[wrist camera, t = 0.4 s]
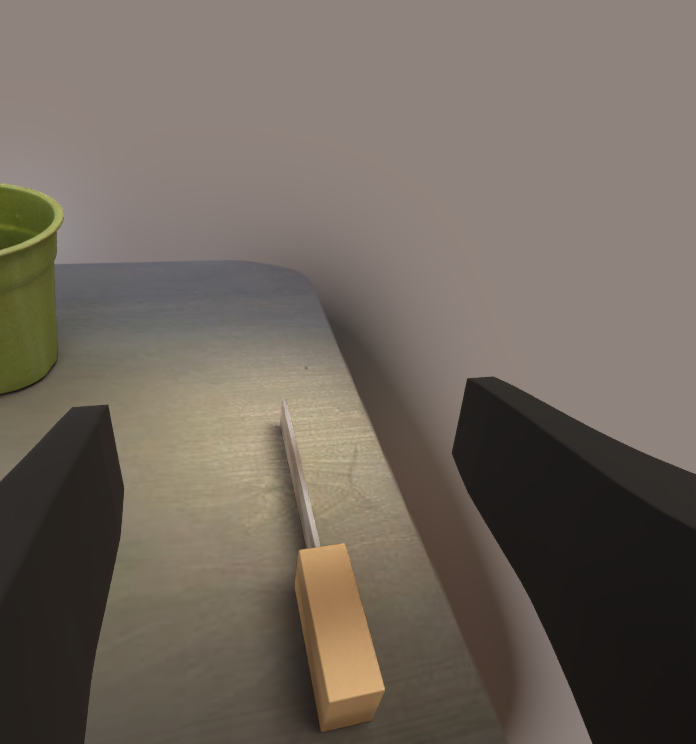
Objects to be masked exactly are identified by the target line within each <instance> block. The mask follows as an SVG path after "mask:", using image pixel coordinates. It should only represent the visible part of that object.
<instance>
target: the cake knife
mask: <svg viewBox="0 0 696 744" xmlns="http://www.w3.org/2000/svg"><path fill="white" fill-rule="evenodd" d="M280 425H281V430H282V435H283V439H284V444H285V449H286V454H287V458H288V463H289V468H290V473H291V477H292V482H293V487H294V492H295V496H296V501H297V506H298V511H299V515H300V520H301V525H302V530H303V534H304V539H305V544H306V549H302V550H299V553H298V562H297V570H296V578H295V592H296V597H297V603H298V608H299V614H300V619H301V625H302V630H303V636H304V641H305V647H306V652H307V658H308V663H309V669H310V674H311V680H312V685H313V691H314V696H315V702H316V707H317V713H318V718H319V724H320V729H321V732H326V731H330V730H334V729H338V728H342V727H347V726H351V725H355V724H359V723H363V722H367V721H372V720H373V718H374V715H375V713H376V710H377V708H378V706H379V703H380V701H381V698H382V696H383V694H384V691H385V687H384V683H383V680H382V676H381V672H380V669H379V665H378V661H377V658H376V654H375V650H374V647H373V643H372V639H371V636H370V632H369V628H368V625H367V621H366V618H365V614H364V610H363V607H362V603H361V599H360V596H359V592H358V588H357V585H356V581H355V577H354V574H353V570H352V566H351V563H350V559H349V555H348V552H347V548H346V545H345V543H343V544H336V545H329V546H322V547H321V546H320V541H319V537H318V533H317V528H316V524H315V520H314V516H313V511H312V507H311V503H310V498H309V494H308V490H307V486H306V481H305V477H304V473H303V468H302V464H301V460H300V456H299V451H298V447H297V443H296V439H295V434H294V430H293V426H292V421H291V417H290V413H289V409H288V404H287V400H282V409H281V424H280Z"/></svg>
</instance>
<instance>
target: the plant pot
mask: <svg viewBox="0 0 696 744" xmlns="http://www.w3.org/2000/svg"><path fill="white" fill-rule="evenodd" d="M63 219H64V212H63V209H62V207H61V205H59V203H58V202H57V201H56V200H55V199H53V198H52V197H50V196H47V195H45V194H43V193H41V192H38V191H36V190H32V189H29V188H25V187H20V186H15V185H9V184H2V183H0V394H1V393H6V392H11V391H14V390H18V389H21V388H24V387H26V386H28V385H31V384H33V383H35V382H36V381H38V380H40V379H41V378H43V377H44V376H45V375H46V374H47V373H48V371H49V370H50V368H51V367H52V365H53V364H54V363H55V362H56V361H57V358H58V345H57V323H56V300H55V275H54V260H55V258H56V254H57V230H58V229H59V227H60V226H61V224H62V222H63Z"/></svg>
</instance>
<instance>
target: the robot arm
mask: <svg viewBox="0 0 696 744" xmlns="http://www.w3.org/2000/svg"><path fill="white" fill-rule="evenodd" d="M452 455H453V458H454V460H455V463H456V465H457V468H458V470H459V473H460V475H461V478H462V480H463V482H464V485H465V487H466V489H467V491H468V493H469V495H470V497H471V499H472V500H473V502H474V504H475V506H476V507H477V509H478V511H479V512H480V514H481V516H482V518H483V519H484V521H485V523H486V524H487V526H488V528H489V529H490V531H491V533H492V534H493V536H494V538H495V539H496V541H497V543H498V544H499V546H500V548H501V549H502V551H503V553H504V554H505V556H506V558H507V559H508V561H509V563H510V564H511V566H512V568H513V569H514V571H515V573H516V574H517V576H518V578H519V579H520V581H521V583H522V585H523V587H524V588H525V590H526V592H527V594H528V596H529V598H530V600H531V602H532V604H533V606H534V608H535V610H536V612H537V614H538V617H539V619H540V621H541V623H542V625H543V627H544V629H545V631H546V634H547V636H548V638H549V640H550V642H551V644H552V647H553V649H554V651H555V654H556V656H557V658H558V660H559V663H560V665H561V667H562V670H563V672H564V674H565V677H566V679H567V681H568V684H569V686H570V688H571V691H572V693H573V695H574V698H575V701H576V703H577V705H578V708H579V711H580V713H581V716H582V718H583V721H584V723H585V726H586V728H587V731H588V733H589V736H590V739H591V741H592V744H696V474H694V473H691V472H688V471H686V470H684V469H681V468H679V467H676V466H674V465H671V464H669V463H666V462H664V461H662V460H659V459H657V458H654V457H652V456H650V455H647V454H645V453H643V452H640V451H638V450H636V449H634V448H632V447H630V446H628V445H625V444H623V443H621V442H619V441H617V440H615V439H613V438H611V437H609V436H607V435H605V434H603V433H601V432H599V431H597V430H595V429H593V428H591V427H589V426H587V425H585V424H583V423H581V422H579V421H578V420H576V419H574V418H572V417H570V416H568V415H566V414H565V413H563V412H560V411H559V410H557V409H555V408H554V407H552V406H550V405H548V404H546V403H544V402H543V401H541V400H539V399H537V398H535V397H533V396H532V395H530V394H528V393H526V392H524V391H522V390H520V389H518V388H517V387H514V386H513V385H511V384H509V383H506V382H504V381H502V380H500V379H498V378H495V377H481V378H468V379H467V382H466V387H465V392H464V397H463V402H462V407H461V412H460V417H459V421H458V426H457V431H456V436H455V441H454V446H453V450H452ZM123 498H124V485H123V480H122V475H121V470H120V464H119V459H118V454H117V449H116V444H115V438H114V433H113V428H112V423H111V417H110V412H109V407H108V405H97V406H84V407H72V408H71V409H70V410H69V411H68V412H67V413H66V414H65V415H64V416H63V417H62V418H61V419H60V420H59V421H58V422H57V423H56V424H55V426H54V427H53V428H52V429H51V430H50V431H49V432H48V433H47V434H46V435H45V436H44V437H43V438H42V439H41V440H40V441H39V443H38V444H37V445H36V446H35V447H34V448H33V449H32V450H31V451H30V452H29V453H28V454H27V455H26V456H25V457H24V458H23V459H22V460H21V461H20V462H19V463H18V464H17V465H16V466H15V467H14V468H13V469H12V470H11V471H10V472H9V473H8V474H7V475H6V476H5V477H4V478H3V479H2V480H1V481H0V744H84V740H85V731H86V722H87V713H88V704H89V695H90V686H91V678H92V672H93V666H94V660H95V654H96V649H97V644H98V640H99V635H100V630H101V626H102V621H103V617H104V612H105V607H106V603H107V598H108V593H109V589H110V584H111V579H112V575H113V570H114V565H115V560H116V556H117V551H118V546H119V541H120V535H121V524H122V512H123Z"/></svg>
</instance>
